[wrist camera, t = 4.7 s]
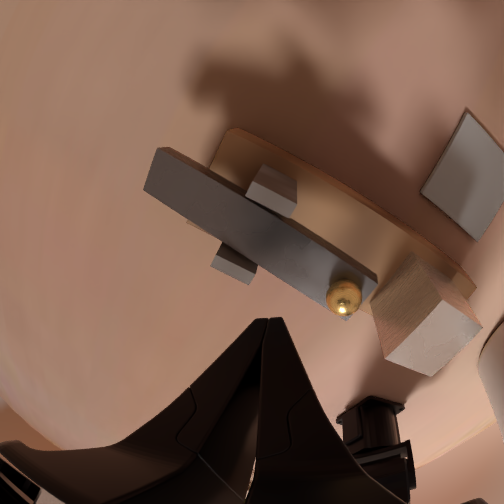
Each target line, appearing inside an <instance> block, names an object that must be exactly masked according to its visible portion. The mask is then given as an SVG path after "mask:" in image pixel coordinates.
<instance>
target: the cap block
mask: <svg viewBox="0 0 504 504" xmlns="http://www.w3.org/2000/svg"><path fill="white" fill-rule="evenodd" d="M369 304H370V307H371V310H372V314H373V317H374V321H375V325H376V328H377V332H378V336H379V339H380V343H381V347H382V351H383V355H384V359H386V360H388V361H391V362H393V363H396V364H399V365H401V366H404V367H406V368H409V369H411V370H414V371H417V372H419V373H422V374H425V375H427V376H430V377H432V376H433V375H434V374H436V373H437V372H438V371H439V370H440V369H441V368H442V367H444V366H445V365H446V364H447V363H448V362H449V361H450V360H451V359H452V358H453V357H454V356H456V355H457V354H458V353H459V352H460V351H461V350H462V349H463V348H464V347H465V346H466V345H467V344H468V343H469V342H470V341H471V340H472V339H473V338H474V337H475V336H476V335H477V334H478V332H479V331H480V330H481V329H482V328H483V327H482V325H481V324H480V322H479V320H478V319H477V317H476V315H475V314H474V312H473V311H472V309H471V307H470V306H469V304H468V303H467V301H466V300H465V298H464V297H463V295H462V294H461V292H460V291H459V289H458V288H457V287H456V285H455V284H454V282H453V281H452V280H451V279H450V278H448V277H447V276H446V275H444V274H443V273H442V272H440V271H439V270H438V269H436V268H435V267H433V266H432V265H431V264H429V263H428V262H426V261H425V260H424V259H422V258H421V257H419V256H418V255H416V254H415V253H414V252H412V251H411V252H410V253H409V255H408V256H407V257H406V259H405V260H404V261H403V263H402V264H401V265H400V266H399V268H398V269H397V270H396V271H395V273H394V274H393V275H392V276H391V278H390V279H389V280H388V281H387V283H386V284H385V285H384V286H383V288H382V289H381V290H380V291H379V292H378V293H377V295H376V296H375V297H374V298H373V299H372V301H371V302H370V303H369Z"/></svg>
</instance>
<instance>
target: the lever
mask: <svg viewBox="0 0 504 504" xmlns="http://www.w3.org/2000/svg"><path fill="white" fill-rule="evenodd" d="M143 190H144V191H145V192H147V193H148V194H150V195H151V196H153V197H155V198H156V199H158V200H159V201H161V202H162V203H164V204H165V205H167V206H168V207H170V208H171V209H173V210H174V211H176V212H177V213H179V214H181V215H182V216H184V217H185V218H187V219H188V220H190V221H191V222H193V223H194V224H196V225H197V226H199V227H200V228H202V229H204V230H205V231H207V232H208V233H210V234H211V235H213V236H214V237H216V238H217V239H219V240H221V241H222V242H224V243H225V244H227V245H228V246H230V247H231V248H233V249H234V250H236V251H238V252H239V253H241V254H242V255H244V256H245V257H247V258H248V259H250V260H252V261H253V262H255V263H256V264H258V265H259V266H261V267H262V268H264V269H265V270H267V271H269V272H270V273H272V274H273V275H275V276H276V277H278V278H280V279H281V280H283V281H284V282H286V283H287V284H289V285H290V286H292V287H294V288H295V289H297V290H298V291H300V292H301V293H303V294H305V295H306V296H308V297H309V298H311V299H312V300H314V301H316V302H317V303H319V304H320V305H322V306H323V307H325V308H327V309H328V310H330V311H331V312H333V313H334V314H336V315H338V316H339V317H341V318H342V319H344V320H345V321H347V320H348V319H349V318H350V317H351V316H352V315H353V313H355V312H356V311H357V310H358V309H359V307H360V305H361V304H362V303H363V302H364V301H365V300H366V299H367V297H368V296H369V295H370V294H371V293H372V291H373V290H374V289H375V288H376V287H377V285H378V278H377V274H376V273H374V272H373V271H371V270H370V269H368V268H367V267H365V266H364V265H363V264H361V263H360V262H358V261H357V260H355V259H354V258H352V257H351V256H349V255H348V254H346V253H345V252H343V251H342V250H340V249H339V248H337V247H336V246H334V245H333V244H331V243H330V242H328V241H327V240H325V239H323V238H322V237H320V236H319V235H317V234H316V233H314V232H313V231H311V230H309V229H308V228H306V227H305V226H303V225H302V224H300V223H298V222H297V221H295V220H294V219H292V218H287V217H285V216H283V215H281V214H279V213H277V212H275V211H274V210H272V209H270V208H268V207H266V206H264V205H262V204H260V203H258V202H256V201H254V200H252V199H250V198H248V197H246V196H245V195H246V193H247V191H246V190H244V189H243V188H241V187H239V186H238V185H236V184H234V183H233V182H231V181H229V180H227V179H226V178H224V177H222V176H221V175H219V174H217V173H215V172H214V171H212V170H210V169H208V168H206V167H205V166H203V165H201V164H199V163H198V162H196V161H194V160H192V159H190V158H189V157H187V156H185V155H183V154H181V153H179V152H178V151H176V150H174V149H172V148H170V147H162V148H157V150H156V153H155V156H154V158H153V161H152V164H151V167H150V170H149V173H148V176H147V179H146V182H145V186H144V189H143Z"/></svg>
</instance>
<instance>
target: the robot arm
mask: <svg viewBox="0 0 504 504" xmlns="http://www.w3.org/2000/svg"><path fill="white" fill-rule="evenodd" d="M404 409H405V407H404V405H403V404H399V403H395V402H391V401H388V400H384V399H380V398H377V397H373V396H369V397H367V398H366V399H364V400H363V401H362V402H360V403H359V404H357V405H356V406H355V407H353V408H352V409H350V410H349V411H348V412H346V413H345V414H343V415H342V416H340V417H339V418H337V419H336V423H337V424H341V425H342V426H343V441H342V439H341V438H340V436H339V435H338V433H337V432H336V430H335V429H334V427H333V426H332V424H331V423H330V421H329V419H328V418H327V416H326V414H325V412H324V411H323V408H322V406H321V404H320V402H319V400H318V398H317V396H316V394H315V391H314V389H313V387H312V385H311V382H310V380H309V378H308V375H307V373H306V371H305V368H304V366H303V364H302V361H301V359H300V357H299V354H298V352H297V350H296V348H295V345H294V343H293V341H292V338H291V336H290V334H289V331H288V329H287V327H286V324H285V322H284V320H283V318H282V317H273V318H270V319H268V318H257V319H255V320H254V321H253V322H252V323H251V324H250V325H249V326H248V327H247V328H246V329H245V330H244V331H243V332H242V333H241V334H240V335H239V337H238V338H237V339H236V340H235V341H234V342H233V343H232V344H231V345H230V346H229V347H228V348H227V349H226V350H225V351H224V352H223V353H222V354H221V355H220V356H219V357H218V358H217V359H216V360H215V361H214V362H213V363H212V364H211V365H210V366H209V367H208V368H207V369H206V370H205V371H204V372H203V373H202V374H201V375H200V376H199V377H198V378H197V379H196V380H195V381H194V382H193V383H192V384H191V385H190V388H189V387H188V388H187V389H186V390H185V391H184V392H183V393H182V394H181V395H180V396H179V397H178V398H176V399H175V400H174V401H173V402H172V403H171V404H170V405H169V406H168V407H166V408H165V409H164V410H163V411H161V412H160V413H159V414H158V415H156V416H155V417H154V418H152V419H151V420H150V421H148V422H147V423H146V424H144V425H143V426H142V427H140V428H139V429H137V430H136V431H135V432H133V433H132V434H130V435H129V436H128V437H126V438H125V439H123V440H122V441H120V442H118V443H116V444H113V445H110V446H106V447H99V448H90V449H78V450H61V451H41V450H35V449H32V448H29V447H28V446H26V445H25V444H23V443H22V442H21V441H19V440H14V441H5V442H2V443H0V453H1V454H2V455H3V456H4V457H5V458H6V459H7V460H8V461H9V462H11V463H12V464H13V465H14V466H15V467H16V468H18V469H19V470H20V471H21V472H22V473H23V474H25V475H26V476H27V477H28V478H30V479H31V480H32V481H34V482H35V483H36V484H35V483H34V482H32V481H31V480H30V479H28V478H27V477H26V476H24V475H23V474H22V473H20V472H19V471H18V470H16V469H15V468H14V467H12V466H11V465H10V464H8V463H7V462H6V461H5V460H3V459H2V458H1V457H0V504H410V490H412V489H416V477H415V468H414V461H413V455H412V449H411V444H410V440H406V441H405V442H402V443H401V442H400V435H399V429H398V423H397V417H396V415H397V414H398V413H400V412H401V411H403V410H404ZM255 457H256V462H255V472H254V477H253V481H252V484H251V487H250V489H249V492H248V495H247V497H246V494H247V490H248V486H249V482H250V478H251V474H252V470H253V465H254V461H255ZM405 457H407V459H406V458H405ZM38 485H39V486H40V487H39V486H38ZM245 498H246V500H245ZM244 501H245V502H244ZM462 504H488V503H487V502H485V501H484V500H483V499H482V498H477V499H473V500H470V501H467V502H465V503H462Z"/></svg>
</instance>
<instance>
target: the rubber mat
mask: <svg viewBox="0 0 504 504" xmlns="http://www.w3.org/2000/svg"><path fill="white" fill-rule="evenodd" d="M420 192H421V193H422V194H423V195H424V196H426V197H427V198H428V199H429V200H431V201H432V202H433V203H434V204H435V205H437V206H438V207H439V208H440V209H441V210H443V211H444V212H445V213H446V214H447V215H448V216H449V217H451V218H452V219H453V220H454V221H455V222H456V223H457V224H459V225H460V226H461V227H462V228H463V229H464V230H465V231H466V232H467V233H468V234H469V235H470V236H471V237H472V238H474V239H475V240H476V241H477V242H478V241H479V240H480V238H481V237H482V235H483V234H484V232H485V231H486V229H487V228H488V226H489V224H490V223H491V221H492V220H493V218H494V217H495V215H496V213H497V212H498V210H499V208H500V207H501V205H502V203H503V201H504V152H503V151H502V150H501V149H500V148H499V146H498V145H497V144H496V143H495V142H494V140H493V139H492V138H491V137H490V136H489V135H488V134H487V132H486V131H485V130H484V129H483V128H482V127H481V126H480V125H479V124H478V123H477V122H476V121H475V120H474V119H473V117H472V116H471V115H470V114H469V113H466V112H465V113H464V115H463V117H462V119H461V121H460V123H459V125H458V127H457V129H456V131H455V133H454V134H453V136H452V138H451V140H450V142H449V144H448V145H447V147H446V149H445V151H444V153H443V154H442V156H441V158H440V160H439V161H438V163H437V165H436V166H435V168H434V170H433V171H432V173H431V175H430V176H429V178H428V180H427V181H426V183H425V184H424V186H423V188H422V189H421V191H420Z"/></svg>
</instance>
